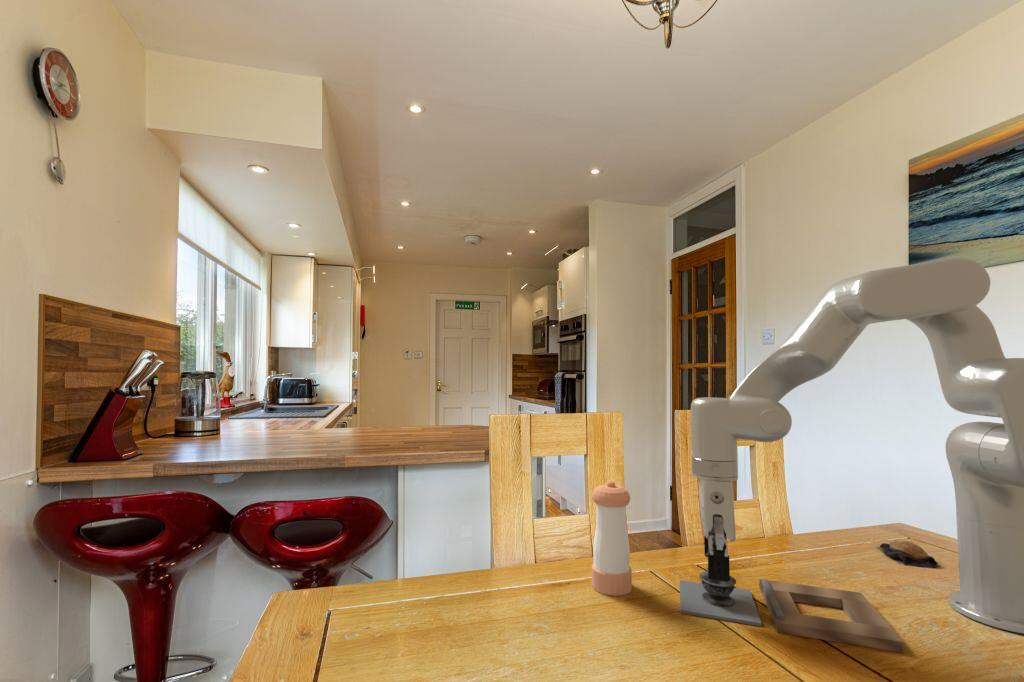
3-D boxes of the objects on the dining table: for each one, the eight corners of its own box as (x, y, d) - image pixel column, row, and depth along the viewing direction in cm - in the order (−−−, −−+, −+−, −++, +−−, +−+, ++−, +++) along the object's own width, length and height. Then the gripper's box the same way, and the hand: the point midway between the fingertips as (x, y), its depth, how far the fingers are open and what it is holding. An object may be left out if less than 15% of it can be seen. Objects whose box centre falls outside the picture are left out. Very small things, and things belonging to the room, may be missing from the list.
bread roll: (872, 549, 109) (871, 533, 109) (915, 553, 107) (914, 536, 107) (898, 567, 99) (897, 549, 99) (946, 572, 97) (945, 553, 97)
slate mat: (749, 592, 86) (749, 589, 86) (761, 626, 74) (761, 623, 74) (679, 582, 90) (679, 580, 90) (680, 613, 78) (680, 610, 78)
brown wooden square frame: (861, 601, 83) (861, 589, 83) (903, 652, 68) (902, 638, 68) (759, 587, 88) (759, 576, 88) (777, 632, 73) (776, 618, 73)
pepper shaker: (639, 591, 86) (638, 484, 87) (605, 598, 83) (604, 487, 84) (616, 575, 92) (616, 476, 94) (584, 581, 90) (584, 478, 91)
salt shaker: (729, 592, 85) (728, 523, 85) (742, 608, 79) (740, 535, 80) (695, 590, 85) (694, 522, 86) (705, 607, 79) (704, 533, 80)
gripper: (744, 480, 74) (747, 593, 73) (732, 460, 90) (734, 552, 89) (693, 476, 76) (695, 586, 75) (690, 458, 93) (691, 547, 92)
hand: (716, 568), depth 82 cm, fingers open, 9 cm apart
